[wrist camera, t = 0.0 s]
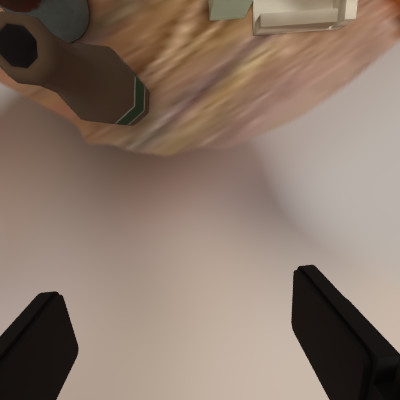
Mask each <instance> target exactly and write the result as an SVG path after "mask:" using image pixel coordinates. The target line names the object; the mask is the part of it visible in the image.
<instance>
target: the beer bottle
mask: <svg viewBox="0 0 400 400" xmlns="http://www.w3.org/2000/svg"><path fill="white" fill-rule="evenodd" d="M0 67H1V68H2V69H3V70H4V71H5V72H6V73H7V75H8V76H10V77H11V78H12V79H14V80H15V81H16V82H17V83H22V84H30V85H38V86H42V87H44V88H47V89H49V90H52V91H54V92H57V93H58V95H59V96H60V97H61V98H62V99H63V100H64V101H65V102H66V104H67V105H68V106H69V107H70V108H71V109H72V110H73V111H74V112H75V113H76V114H77V115H78V117H79V118H80V119H83V120H86V121H93V122H102V123H112V124H122V125H135V124H136V123H137V122H138V121H139V120H141V119H142V118H143V117H144V116H145V115H146V114H147V113H148V109H149V91H148V89H147V88H146V87H145V86H144V84H143V83H142V82H141V81H140V79H139V78H138V77H137V76H136V74H135V73H134V72H133V71H132V70H131V69H130V68H129V67H128V65H127V64H126V63H125V62H124V61H123V60H122V59H121V58H120V57H119V56H118V55H117V53H116V52H115V51H113V50H112V49H111V48H109V47H106V46H99V45H91V44H84V43H72V44H69V43H68V42H66V41H64V40H63V39H61V38H59V37H57V36H56V35H54V34H52V33H51V32H50V31H49V30H48V28H47V27H46V26H45V25H44V24H43V23H42V22H41V20H40V19H39V18H37V17H33V16H29V15H23V14H16V13H9V12H2V11H1V12H0Z"/></svg>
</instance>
